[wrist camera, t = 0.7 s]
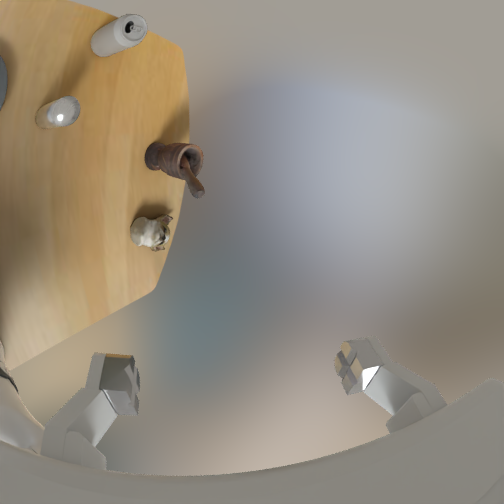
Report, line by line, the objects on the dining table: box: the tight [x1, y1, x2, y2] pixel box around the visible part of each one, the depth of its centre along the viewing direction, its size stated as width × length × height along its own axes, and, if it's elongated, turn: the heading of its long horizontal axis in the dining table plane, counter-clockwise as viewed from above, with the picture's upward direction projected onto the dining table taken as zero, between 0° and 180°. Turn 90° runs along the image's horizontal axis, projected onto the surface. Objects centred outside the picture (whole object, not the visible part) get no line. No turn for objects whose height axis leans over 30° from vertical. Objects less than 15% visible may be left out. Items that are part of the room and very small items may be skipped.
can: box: [91, 14, 147, 57], centre depth 36 cm, size 8×8×12 cm
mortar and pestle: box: [145, 143, 205, 198], centre depth 62 cm, size 12×9×20 cm
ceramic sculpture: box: [131, 214, 173, 252], centre depth 70 cm, size 11×9×15 cm
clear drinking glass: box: [36, 96, 80, 129], centre depth 34 cm, size 5×5×12 cm
